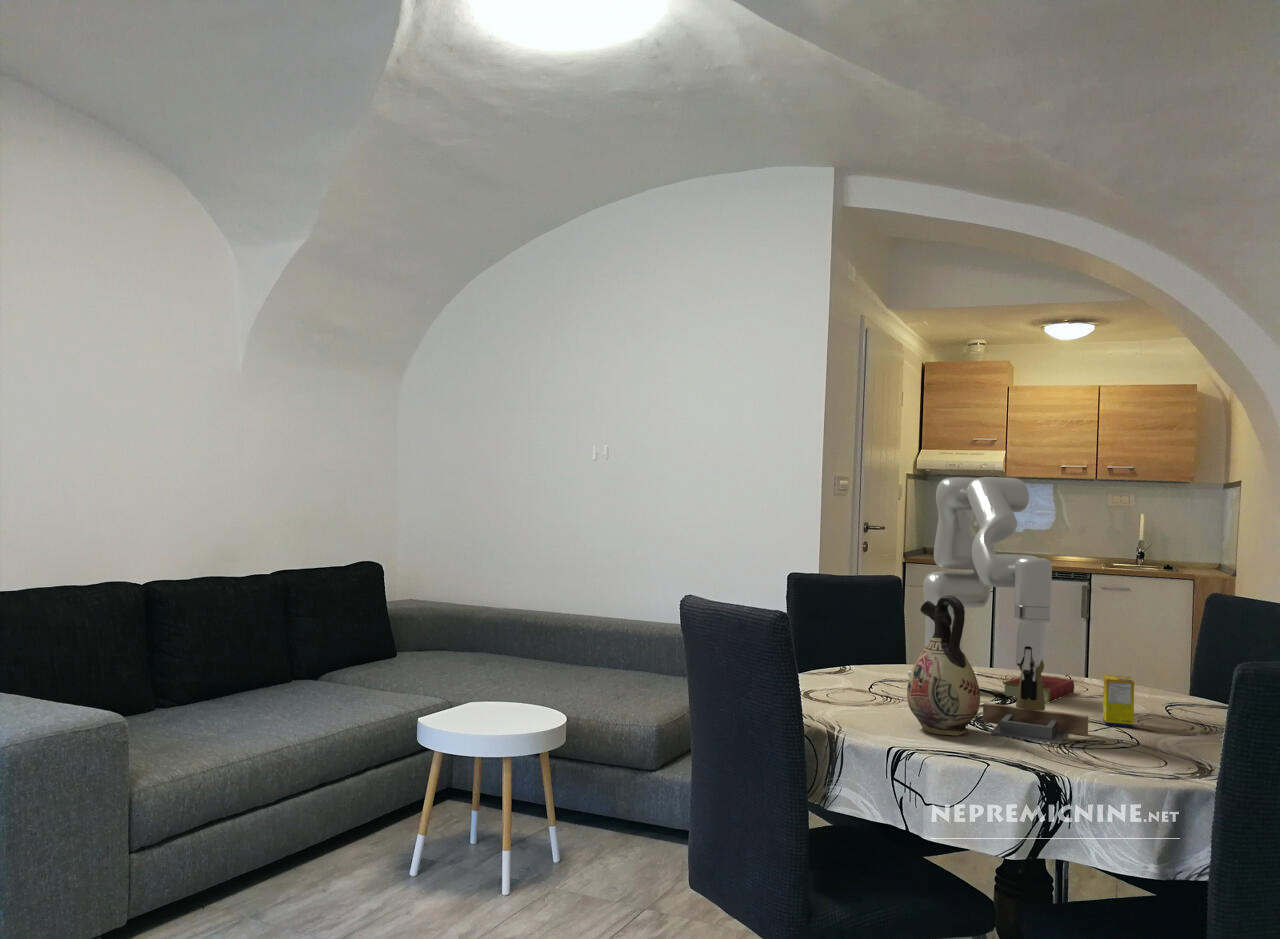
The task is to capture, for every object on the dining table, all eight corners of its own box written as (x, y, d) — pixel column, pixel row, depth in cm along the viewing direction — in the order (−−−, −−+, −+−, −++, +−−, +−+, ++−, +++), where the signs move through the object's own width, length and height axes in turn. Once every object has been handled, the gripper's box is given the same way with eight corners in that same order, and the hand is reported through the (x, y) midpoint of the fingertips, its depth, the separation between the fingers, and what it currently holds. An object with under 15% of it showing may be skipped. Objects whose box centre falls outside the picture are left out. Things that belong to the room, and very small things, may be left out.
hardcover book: (1074, 694, 269) (1074, 679, 269) (1049, 705, 253) (1049, 688, 253) (1029, 687, 277) (1029, 672, 277) (1002, 697, 261) (1002, 681, 261)
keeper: (990, 734, 214) (991, 720, 214) (1000, 724, 225) (1000, 711, 225) (1060, 744, 208) (1060, 729, 208) (1066, 733, 218) (1067, 719, 218)
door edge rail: (982, 721, 228) (983, 703, 228) (984, 719, 229) (984, 702, 230) (1087, 735, 217) (1087, 717, 217) (1087, 734, 219) (1088, 715, 219)
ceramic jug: (891, 724, 221) (895, 590, 221) (948, 721, 226) (952, 590, 227) (939, 743, 205) (944, 598, 206) (999, 739, 210) (1003, 598, 211)
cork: (1010, 704, 219) (1011, 654, 219) (1036, 704, 219) (1038, 655, 220) (1023, 710, 213) (1024, 658, 213) (1050, 710, 213) (1051, 659, 214)
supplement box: (1130, 723, 232) (1131, 676, 232) (1133, 728, 226) (1134, 680, 227) (1102, 720, 234) (1103, 674, 234) (1105, 725, 228) (1106, 678, 229)
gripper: (1020, 609, 226) (1018, 690, 225) (1008, 615, 212) (1005, 701, 211) (1055, 612, 222) (1053, 694, 222) (1045, 618, 208) (1043, 706, 207)
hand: (1030, 696), depth 216 cm, fingers closed on cork, 4 cm apart
